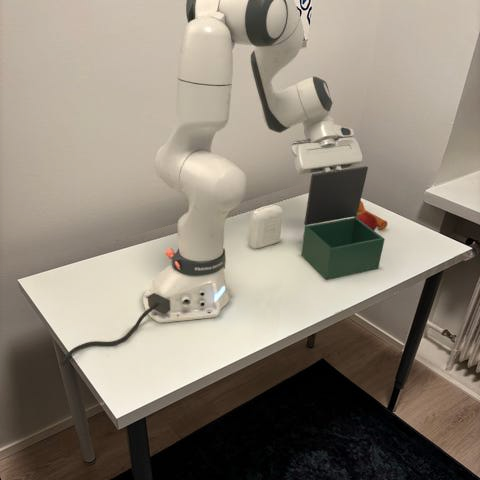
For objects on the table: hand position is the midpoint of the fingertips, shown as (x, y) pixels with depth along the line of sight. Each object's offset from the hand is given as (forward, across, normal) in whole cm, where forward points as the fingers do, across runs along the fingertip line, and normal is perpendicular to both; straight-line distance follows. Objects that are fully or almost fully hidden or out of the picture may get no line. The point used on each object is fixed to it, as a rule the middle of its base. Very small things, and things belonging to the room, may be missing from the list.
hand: (335, 183), depth 142 cm
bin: (+20, 0, +10) cm, 23 cm away
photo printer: (+8, -16, +23) cm, 29 cm away
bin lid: (+3, 0, +2) cm, 4 cm away
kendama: (+5, +24, +26) cm, 36 cm away
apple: (+12, +16, +18) cm, 27 cm away
